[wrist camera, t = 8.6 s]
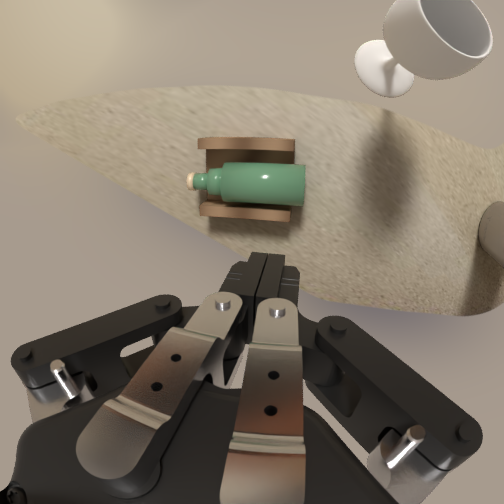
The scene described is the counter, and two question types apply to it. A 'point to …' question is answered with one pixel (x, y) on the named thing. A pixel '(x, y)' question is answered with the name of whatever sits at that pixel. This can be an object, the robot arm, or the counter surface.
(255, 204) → the brown wooden u-shaped block
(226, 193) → the bottle
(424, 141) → the counter surface
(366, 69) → the wineglass
